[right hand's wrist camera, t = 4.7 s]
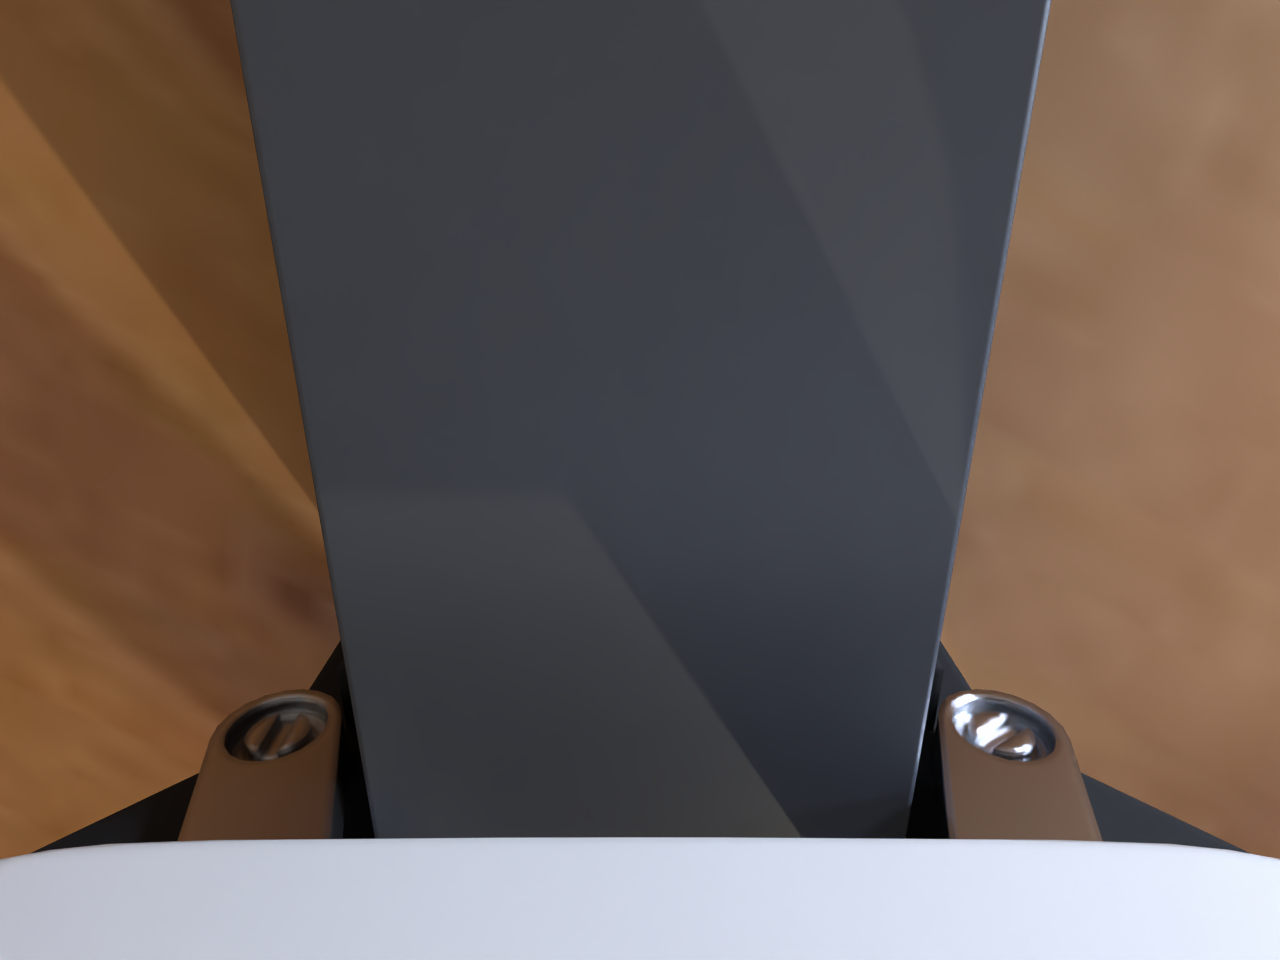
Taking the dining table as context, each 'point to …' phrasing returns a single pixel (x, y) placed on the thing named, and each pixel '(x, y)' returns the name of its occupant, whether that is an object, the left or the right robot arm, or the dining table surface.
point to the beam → (640, 388)
